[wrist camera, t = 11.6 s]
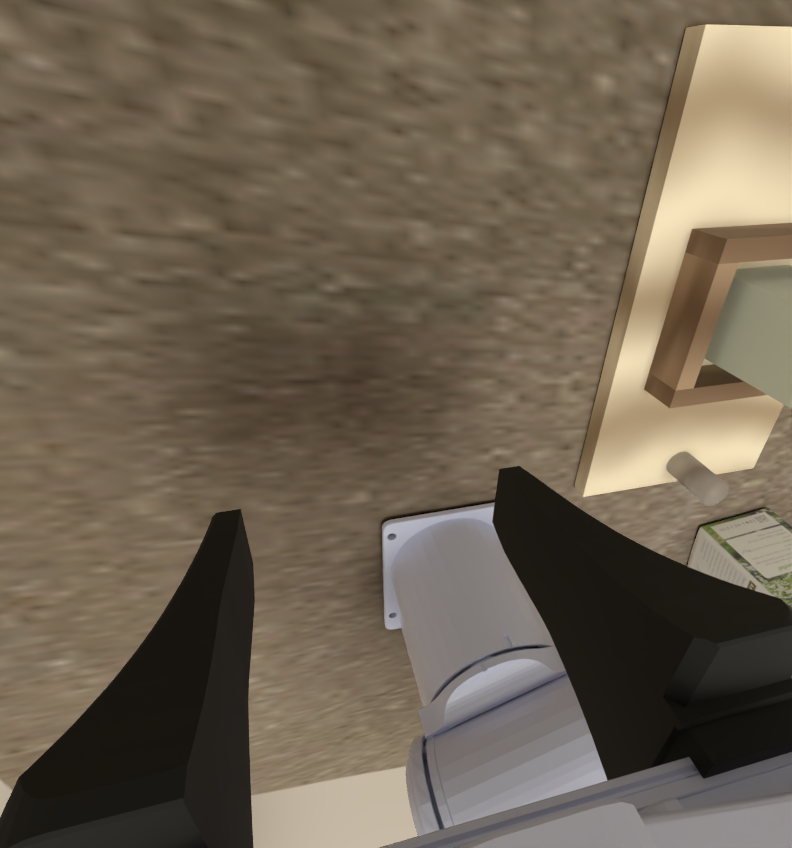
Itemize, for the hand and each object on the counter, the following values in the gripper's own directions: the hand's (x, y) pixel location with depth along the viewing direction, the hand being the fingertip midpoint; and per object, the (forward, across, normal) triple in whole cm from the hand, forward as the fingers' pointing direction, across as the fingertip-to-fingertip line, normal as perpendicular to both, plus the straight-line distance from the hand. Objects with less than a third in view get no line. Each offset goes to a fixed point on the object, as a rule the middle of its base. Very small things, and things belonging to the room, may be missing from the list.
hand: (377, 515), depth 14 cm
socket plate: (+10, -20, -1) cm, 23 cm away
